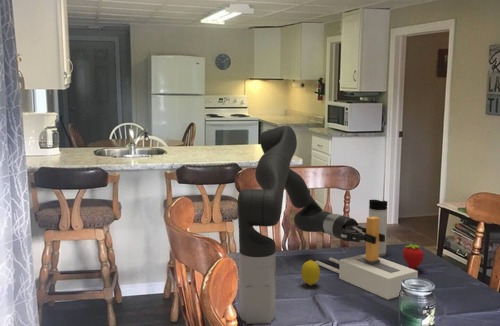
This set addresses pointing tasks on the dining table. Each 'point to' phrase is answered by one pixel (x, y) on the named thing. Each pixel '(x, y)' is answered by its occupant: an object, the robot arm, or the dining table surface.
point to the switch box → (375, 275)
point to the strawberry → (413, 255)
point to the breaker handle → (371, 249)
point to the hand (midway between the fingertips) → (379, 239)
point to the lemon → (310, 272)
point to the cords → (328, 265)
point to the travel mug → (380, 211)
